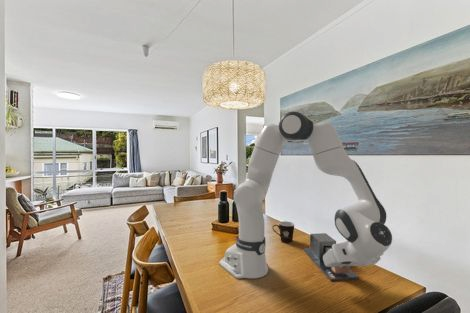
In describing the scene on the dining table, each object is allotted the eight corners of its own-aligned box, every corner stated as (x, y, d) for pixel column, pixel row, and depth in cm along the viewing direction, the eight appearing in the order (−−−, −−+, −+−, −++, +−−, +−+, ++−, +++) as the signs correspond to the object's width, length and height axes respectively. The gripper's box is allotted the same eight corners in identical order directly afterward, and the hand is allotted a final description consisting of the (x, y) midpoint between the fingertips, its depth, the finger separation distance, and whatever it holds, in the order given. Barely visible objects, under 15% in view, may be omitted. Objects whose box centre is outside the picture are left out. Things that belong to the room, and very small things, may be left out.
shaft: (349, 272, 93) (349, 250, 93) (335, 272, 92) (335, 250, 92) (328, 253, 110) (328, 235, 110) (316, 254, 109) (316, 235, 109)
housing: (359, 279, 91) (359, 254, 91) (330, 280, 90) (330, 255, 90) (325, 249, 119) (325, 230, 119) (303, 250, 118) (303, 231, 118)
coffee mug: (297, 240, 130) (297, 223, 130) (289, 245, 124) (289, 227, 124) (279, 235, 138) (279, 219, 138) (271, 239, 132) (271, 222, 132)
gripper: (381, 242, 85) (363, 256, 95) (328, 244, 83) (316, 258, 93) (390, 260, 81) (371, 272, 91) (334, 262, 79) (321, 275, 89)
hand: (343, 265), depth 92 cm, fingers closed
